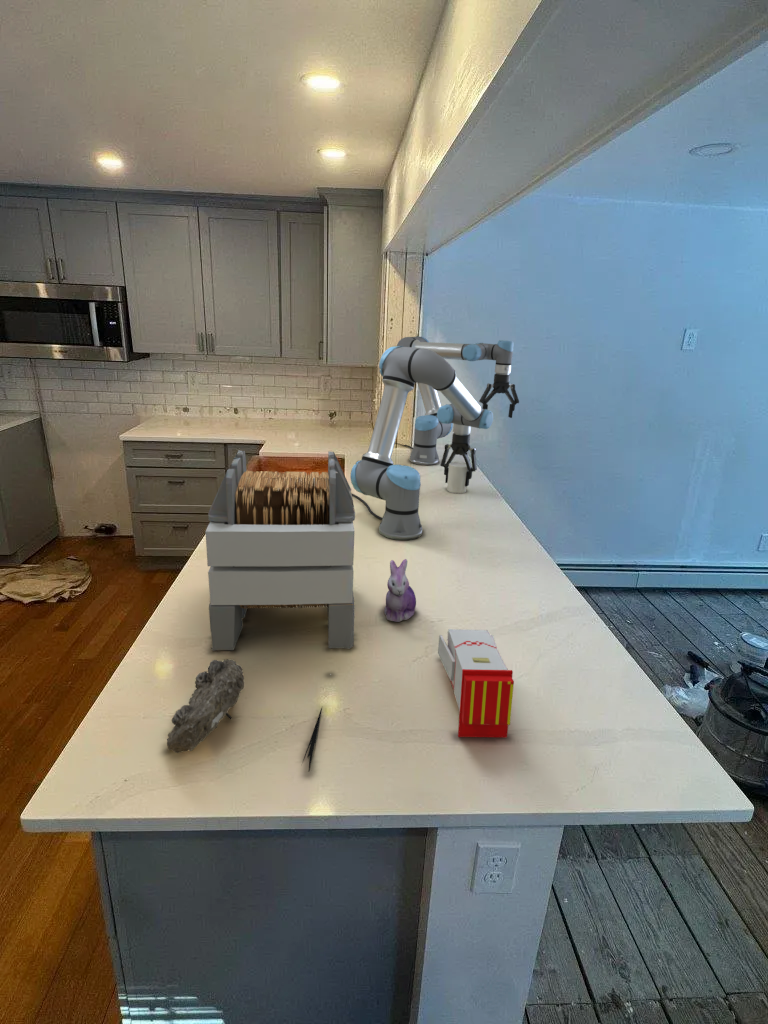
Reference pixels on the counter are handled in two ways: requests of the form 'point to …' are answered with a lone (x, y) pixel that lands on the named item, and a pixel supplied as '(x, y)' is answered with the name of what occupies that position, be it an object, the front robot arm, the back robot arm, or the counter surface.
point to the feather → (313, 740)
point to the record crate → (281, 548)
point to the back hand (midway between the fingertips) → (497, 417)
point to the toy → (478, 682)
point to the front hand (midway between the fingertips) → (456, 483)
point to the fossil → (206, 705)
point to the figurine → (399, 594)
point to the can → (457, 477)
